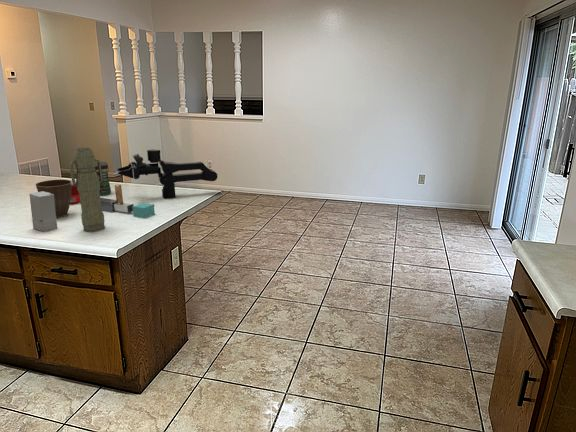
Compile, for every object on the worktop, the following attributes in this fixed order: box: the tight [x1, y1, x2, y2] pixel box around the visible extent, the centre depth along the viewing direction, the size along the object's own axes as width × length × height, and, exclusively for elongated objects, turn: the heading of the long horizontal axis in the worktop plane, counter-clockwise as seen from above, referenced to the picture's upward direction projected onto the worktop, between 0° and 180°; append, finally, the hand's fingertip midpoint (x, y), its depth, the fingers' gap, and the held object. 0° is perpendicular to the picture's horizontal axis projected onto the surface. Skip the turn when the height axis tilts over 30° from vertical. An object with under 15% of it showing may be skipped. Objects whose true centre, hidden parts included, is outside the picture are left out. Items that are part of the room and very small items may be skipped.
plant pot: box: [35, 179, 72, 218], centre depth 201 cm, size 15×15×16 cm
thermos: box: [69, 147, 106, 233], centre depth 180 cm, size 9×12×35 cm
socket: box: [132, 202, 156, 219], centre depth 203 cm, size 7×7×5 cm
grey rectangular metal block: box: [100, 197, 117, 213], centre depth 212 cm, size 14×5×5 cm, turn 67°
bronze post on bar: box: [112, 184, 135, 214], centre depth 208 cm, size 22×3×13 cm, turn 67°
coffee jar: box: [95, 161, 112, 197], centre depth 239 cm, size 10×8×19 cm
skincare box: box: [29, 191, 58, 232], centre depth 182 cm, size 8×7×16 cm
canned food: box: [69, 180, 81, 206], centre depth 223 cm, size 8×8×11 cm
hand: (117, 171), depth 222 cm, fingers open, 9 cm apart
